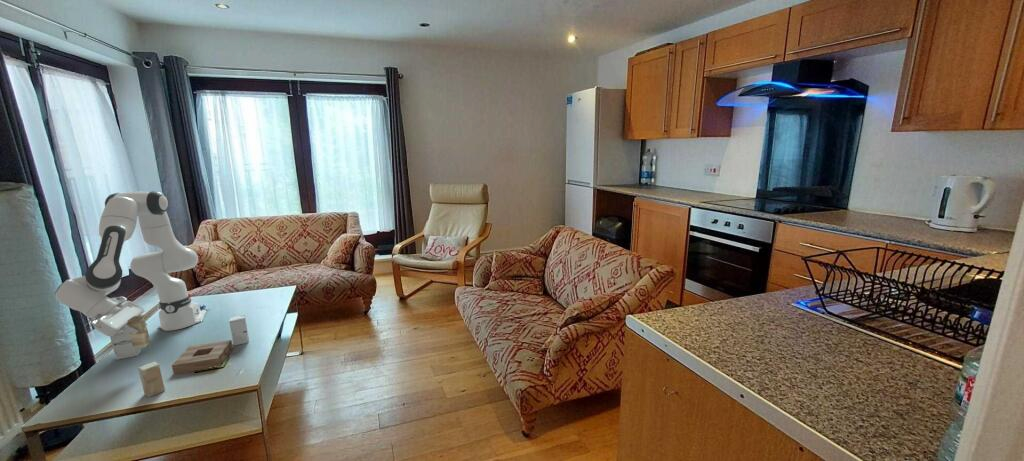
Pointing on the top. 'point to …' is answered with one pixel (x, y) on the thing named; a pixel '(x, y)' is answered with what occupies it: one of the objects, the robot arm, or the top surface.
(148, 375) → the box
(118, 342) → the supplement box
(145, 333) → the peg
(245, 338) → the skincare box
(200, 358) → the square hole block
